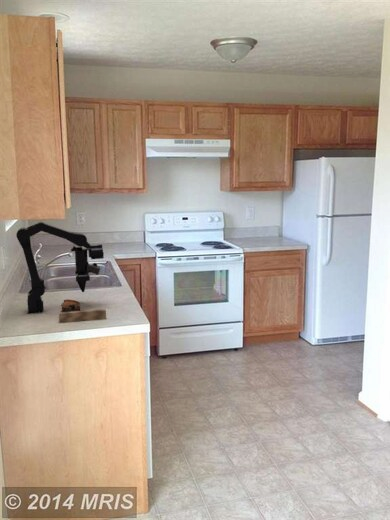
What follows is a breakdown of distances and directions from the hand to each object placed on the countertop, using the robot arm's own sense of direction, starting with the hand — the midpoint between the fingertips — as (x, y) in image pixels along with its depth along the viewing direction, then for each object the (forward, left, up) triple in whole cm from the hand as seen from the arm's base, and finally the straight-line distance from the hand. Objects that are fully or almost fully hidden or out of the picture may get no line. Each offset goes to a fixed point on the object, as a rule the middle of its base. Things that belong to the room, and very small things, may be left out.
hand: (83, 291), depth 226 cm
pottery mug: (-6, -12, -8) cm, 15 cm away
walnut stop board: (-1, -21, -8) cm, 22 cm away
